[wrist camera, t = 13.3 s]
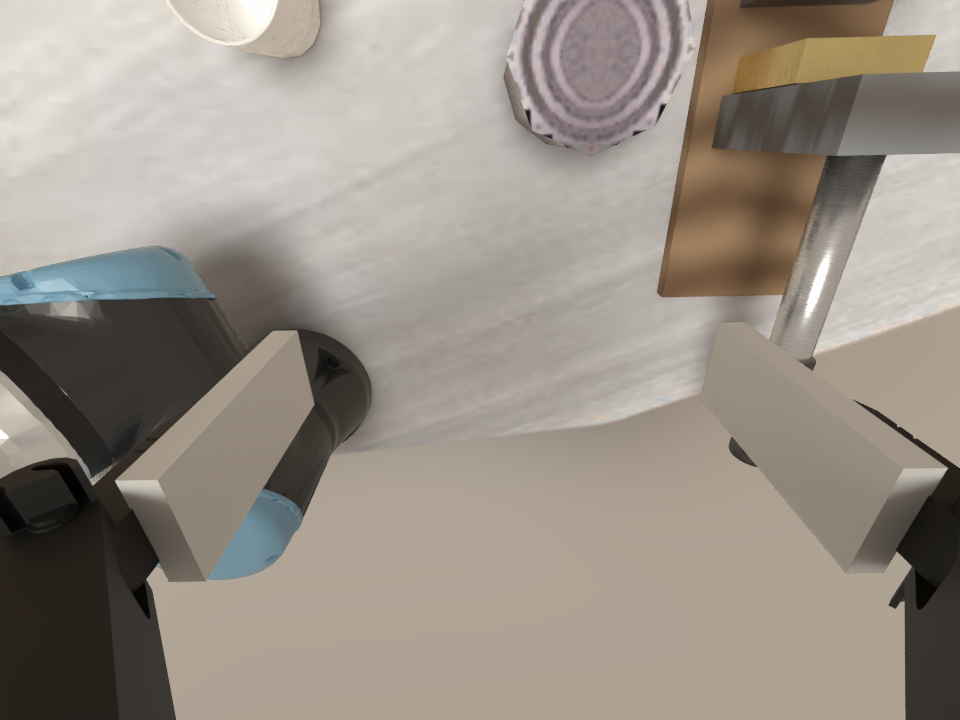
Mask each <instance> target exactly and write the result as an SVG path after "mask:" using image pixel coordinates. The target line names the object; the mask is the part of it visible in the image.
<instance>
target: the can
mask: <svg viewBox="0 0 960 720" xmlns="http://www.w3.org/2000/svg"><path fill="white" fill-rule="evenodd" d="M694 50H695V42H694V36H693V29H692V23H691V16H690V10H689V3H688V0H525V1H524V4H523V7H522V10H521V13H520V16H519V19H518V22H517V25H516V28H515V31H514V34H513V37H512V40H511V43H510V46H509V49H508V52H507V55H506V58H507V61H508V62H507V66H506V70H505V73H504V80H505V84H506V87H507V91H508V94H509V98H510V101H511V105H512V108H513V112H514V115H515V119H516V120H517V121H518V122H519V123H520V124H522V125H523V126H524V127H525V128H527V129H528V130H529V131H531V132H532V133H533V134H534V135H536V136H537V137H538V138H539V139H541V140H542V141H543V142H545V143H546V144H551V145H557V146H564V147H571V148H574V149H576V150H578V151H581V152H583V153H585V154H587V155H590V156H592V155H594V154H596V153H598V152H600V151H602V150H604V149H607V148H609V147H611V146H613V145H617V144H618V143H620V142H621V141H624V140H626V139H628V138H630V137H632V136H634V135H636V134H638V133H641V132H643V131H645V130H647V129H649V128H651V127H653V126H655V125H656V123H657V121H658V120H659V118H660V116H661V114H662V112H663V110H664V108H665V106H666V104H667V102H668V100H669V98H670V96H671V95H672V93H673V91H674V89H675V87H676V85H677V83H678V81H679V79H680V77H681V75H682V73H683V72H684V70H685V68H686V66H687V64H688V62H689V60H690V58H691V56H692V54H693V52H694Z"/></svg>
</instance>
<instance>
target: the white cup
mask: <svg viewBox="0 0 960 720" xmlns="http://www.w3.org/2000/svg"><path fill="white" fill-rule="evenodd" d="M165 2H166V3H167V5H168V6H169V8H170V9H171V11H172V12H173V13H174V14H175V16H176V17H177V18H178V19H179V20H180V21H181V22H182V23H183V24H184V25H185V26H186V27H187V28H188V29H189V30H191V31H192V32H193V33H195V34H196V35H198V36H199V37H201V38H203V39H205V40H207V41H209V42H212V43H214V44H218V45H222V46H226V47H230V48H234V49H238V50H242V51H246V52H250V53H255V54H261V55H266V56H276V57H280V58H290V57H296V56H301V55H302V54H303V53H305V52H306V51H307V50H308V49H309V48H310V47H311V46H312V45H313V44H314V43H315V40H316V37H317V34H318V31H319V28H320V25H321V22H320V6H319V0H165Z"/></svg>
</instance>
